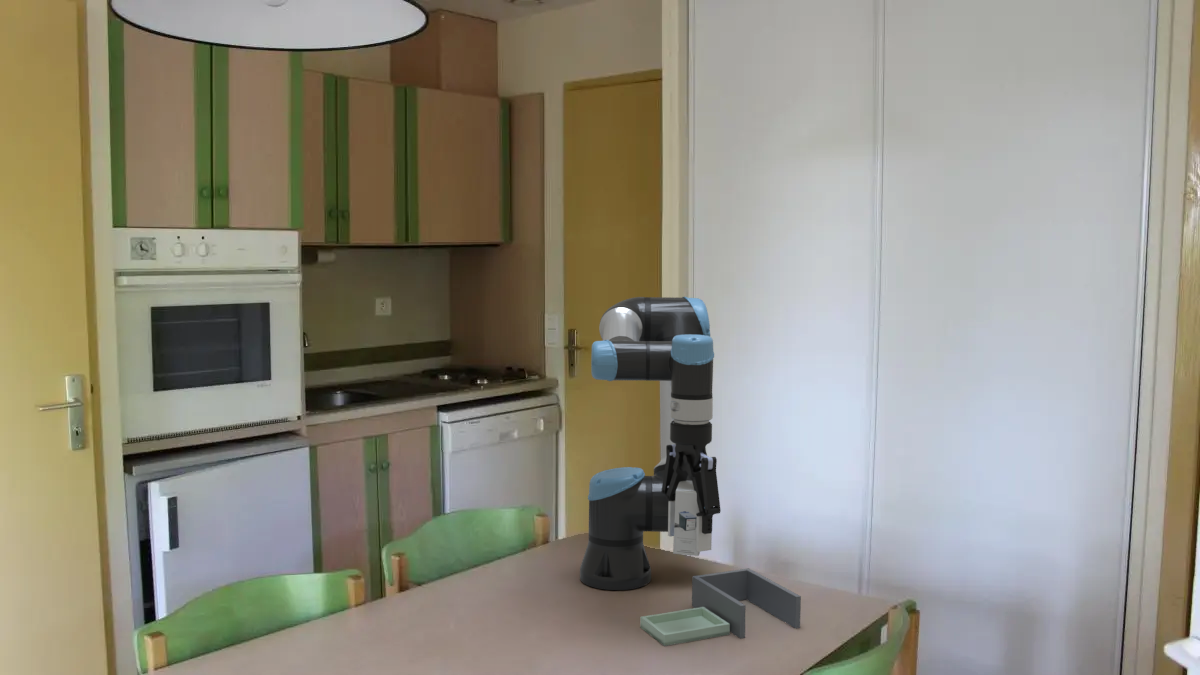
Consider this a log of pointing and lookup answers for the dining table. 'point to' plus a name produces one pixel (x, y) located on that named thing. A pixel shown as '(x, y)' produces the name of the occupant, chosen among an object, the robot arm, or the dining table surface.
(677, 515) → the ink box
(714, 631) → the tray
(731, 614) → the printer bay
